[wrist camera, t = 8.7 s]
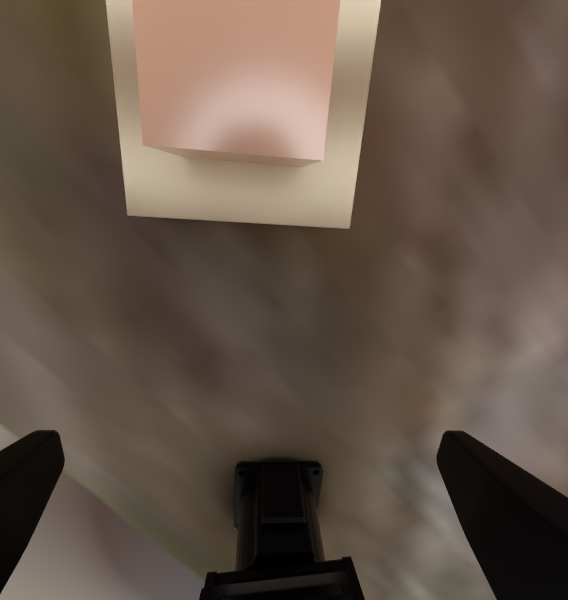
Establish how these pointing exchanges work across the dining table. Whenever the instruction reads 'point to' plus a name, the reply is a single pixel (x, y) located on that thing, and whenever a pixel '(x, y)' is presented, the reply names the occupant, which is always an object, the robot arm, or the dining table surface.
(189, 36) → the cube
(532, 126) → the dining table surface
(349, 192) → the base
